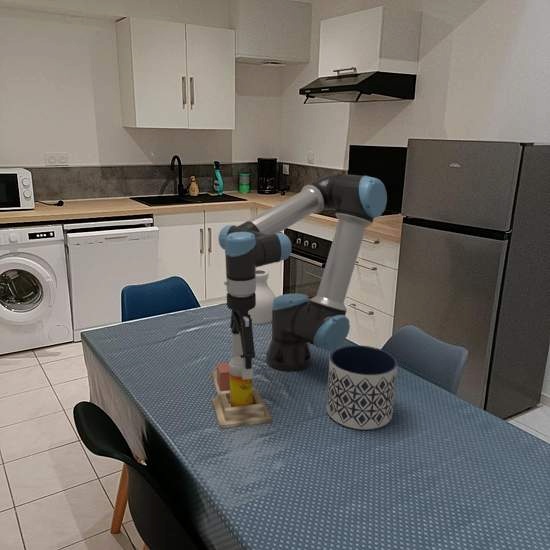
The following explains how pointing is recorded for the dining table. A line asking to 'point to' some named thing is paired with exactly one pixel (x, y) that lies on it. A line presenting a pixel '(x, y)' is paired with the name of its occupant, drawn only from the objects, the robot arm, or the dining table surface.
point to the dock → (238, 409)
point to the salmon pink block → (223, 376)
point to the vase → (262, 300)
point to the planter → (361, 386)
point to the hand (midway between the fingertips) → (242, 366)
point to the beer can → (239, 384)
